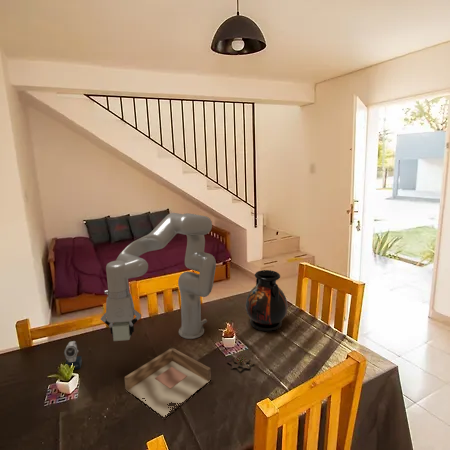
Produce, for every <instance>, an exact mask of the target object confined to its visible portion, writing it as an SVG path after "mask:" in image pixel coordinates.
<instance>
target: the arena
mask: <svg viewBox="0 0 450 450" xmlns="http://www.w3.org/2000/svg"><path fill="white" fill-rule="evenodd" d="M211 371H212V368H211V367H209V366H207V365H205V364H203V363H202V362H200V361H198V360H196V359H195V358H192V357H191V356H188V355H186V354H185V353H183V352H181V351H179V350H177V349H176V348H174V347H170V348H169V349H167V350H166V351H164V352H162V353H161V354H159V355H157V356H156V357H155V358H153V359H151V360H150V361H148V362H146V363H145V364H143V365H140V367H138V368H137V369H135V370H134V371H132V372H130V373H129V374H127V375H125V376H124V389H126V390H127V391H128V392H130V393H131V394H133V395H134V396H136V397H137V398H139V399H140V400H141V401H143V402H144V403H145V404H147V405H148V406H149V407H151V408H152V409H153V410H154V411H156V412H157V413H159V414H160V415H161V416H163V417H165V415H166V416H167V414H168V413H170V412H169V411H171V410H172V407H173V408H174V406H168V405H169V403H171V402H172V403H176V405H177V406H178V404H179V403H182V402H184V401H185V400H186V399H188V398H189V397H190V396H191V395H193V394H194V393H195V392H196V391H197V390H199V389H200V388H202V387H203V386H204V385H205V384H206V383H208V382H209V381H210V380H211V381H212V379H211V378H212V377H211V376H212V372H211ZM208 384H209V383H208ZM202 389H203V388H202ZM127 391H126V392H127ZM128 392H127V393H128ZM131 394H130V395H131ZM142 398H145V399H142ZM145 400H146V401H145ZM177 403H178V404H177ZM167 404H168V405H167ZM176 405H175V406H176ZM179 405H180V404H179ZM168 407H169V408H168ZM170 407H171V408H170ZM175 408H176V407H175ZM170 409H171V410H170ZM173 410H174V409H173Z"/></svg>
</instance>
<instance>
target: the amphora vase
mask: <svg viewBox="0 0 450 450" xmlns="http://www.w3.org/2000/svg"><path fill="white" fill-rule="evenodd" d="M254 277H255V279H256V281H255V286H254V287H252V289H251V290H250V291H249V292H248V295H247V297H246V301H245V312H246V314H247V316H248V317H249V318H250V321H249V322H250V325H251V327H253V328H254V329H256V330H258V331H261V330H262V332H273V331H272V330H275V331H277V330H279V329H280V328H281V327H282V324H283V320H284V319H285V317H286V316H287V313H288V307H289V306H288V299H287V297H286V295H285V293H284V291H283V290H282V289H281V288H280V287H279V285H278V284H277V281H279V280H280V278H281V274H280V273H279V272H278V271H274V270H271V269H270V270H269V269H263V270H262V269H261V270H258V271H256V272H255V274H254ZM280 326H281V327H280ZM279 327H280V328H279ZM278 328H279V329H278ZM276 329H277V330H276Z"/></svg>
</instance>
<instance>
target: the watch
mask: <svg viewBox="0 0 450 450" xmlns="http://www.w3.org/2000/svg"><path fill="white" fill-rule="evenodd" d="M78 353H79V349H78V345H77V342H76V341H75V340H73V341H69V342H68V343H67V345H66V347H65V349H64V352H63V354H64V357H65V359H66V361H65V364H68V365H69V366H71V365H72V363H73V365H74V366H75V370H79V369H81V368H82V367H81V366H82V363H83V360H82V355H80V356H79V355H78ZM77 355H78V356H77ZM65 364H64V365H65Z"/></svg>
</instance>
